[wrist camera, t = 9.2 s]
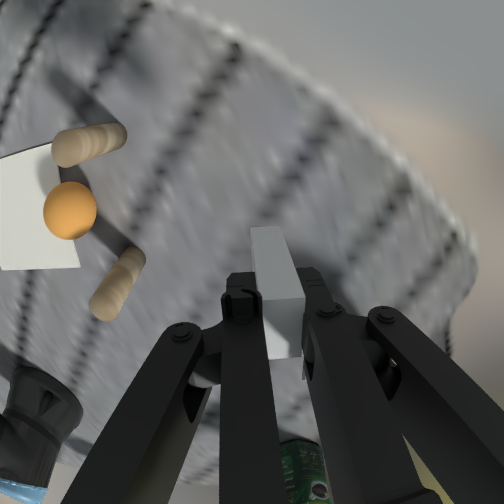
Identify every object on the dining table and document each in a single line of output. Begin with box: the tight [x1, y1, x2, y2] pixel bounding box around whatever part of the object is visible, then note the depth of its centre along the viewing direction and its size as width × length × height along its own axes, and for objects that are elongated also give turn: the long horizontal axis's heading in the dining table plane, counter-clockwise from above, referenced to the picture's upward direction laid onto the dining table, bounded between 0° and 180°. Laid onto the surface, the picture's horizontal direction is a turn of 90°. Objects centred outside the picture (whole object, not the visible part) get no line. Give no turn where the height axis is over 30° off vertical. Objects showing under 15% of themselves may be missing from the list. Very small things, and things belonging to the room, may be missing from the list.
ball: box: [43, 182, 97, 240], centre depth 25 cm, size 6×6×6 cm
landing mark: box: [0, 143, 81, 270], centre depth 27 cm, size 14×14×1 cm
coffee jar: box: [280, 440, 331, 504], centre depth 40 cm, size 10×8×19 cm
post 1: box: [51, 123, 127, 168], centre depth 21 cm, size 3×3×9 cm
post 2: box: [89, 247, 146, 321], centre depth 26 cm, size 3×3×9 cm
